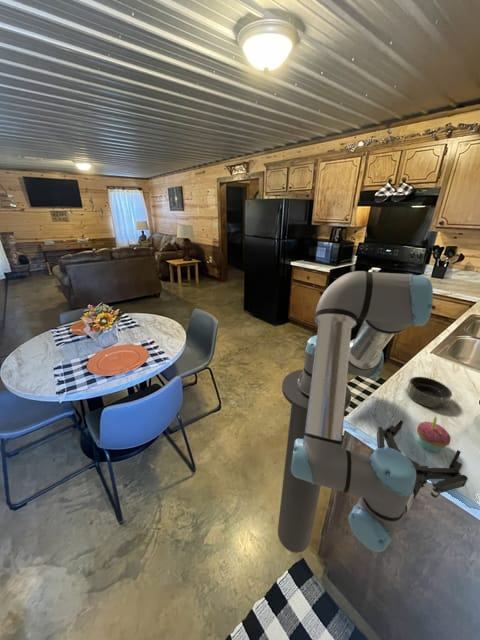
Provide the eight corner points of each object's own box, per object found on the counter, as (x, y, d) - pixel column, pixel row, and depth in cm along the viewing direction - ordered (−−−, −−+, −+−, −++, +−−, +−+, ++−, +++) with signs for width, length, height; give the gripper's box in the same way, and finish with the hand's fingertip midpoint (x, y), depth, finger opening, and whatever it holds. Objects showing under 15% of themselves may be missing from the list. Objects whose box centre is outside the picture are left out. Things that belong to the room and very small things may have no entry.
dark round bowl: (401, 396, 103) (404, 385, 101) (413, 382, 111) (416, 372, 109) (441, 415, 94) (445, 404, 92) (451, 399, 101) (456, 388, 100)
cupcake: (433, 460, 77) (446, 429, 72) (406, 438, 84) (416, 408, 79) (451, 451, 80) (465, 420, 75) (424, 430, 87) (435, 401, 82)
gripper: (343, 460, 70) (378, 422, 83) (457, 544, 53) (480, 480, 65) (348, 439, 67) (384, 403, 80) (470, 521, 50) (491, 459, 62)
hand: (427, 438), depth 73 cm, fingers open, 13 cm apart
